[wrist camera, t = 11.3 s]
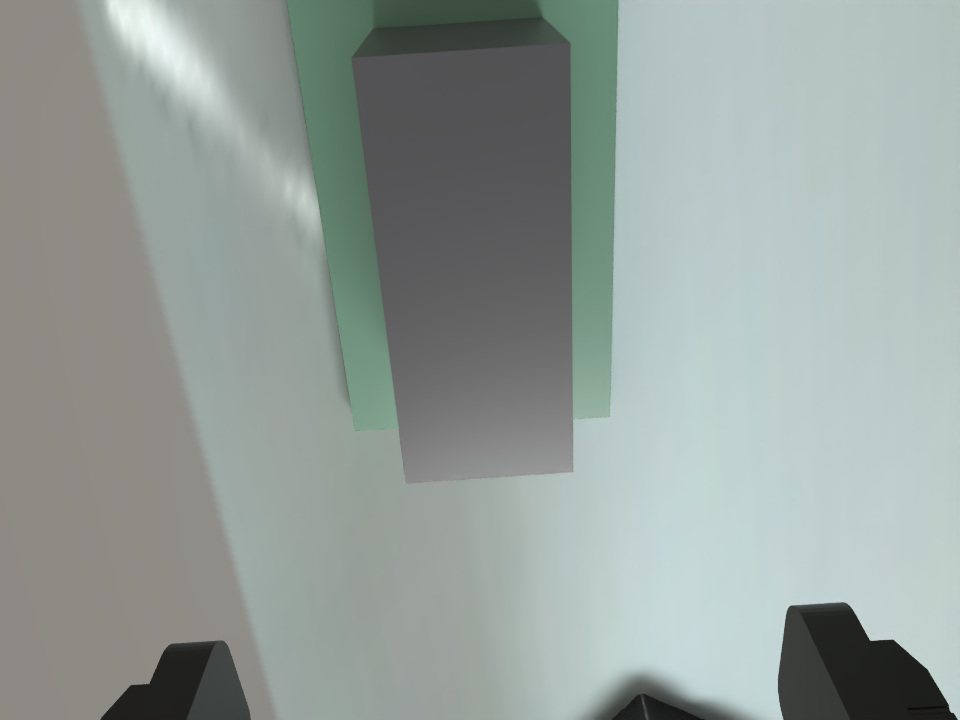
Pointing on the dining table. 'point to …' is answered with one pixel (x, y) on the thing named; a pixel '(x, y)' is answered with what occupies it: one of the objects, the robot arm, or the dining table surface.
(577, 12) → the green flat rectangular block
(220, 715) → the robot arm
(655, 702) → the disk drive
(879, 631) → the dining table surface
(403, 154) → the block
